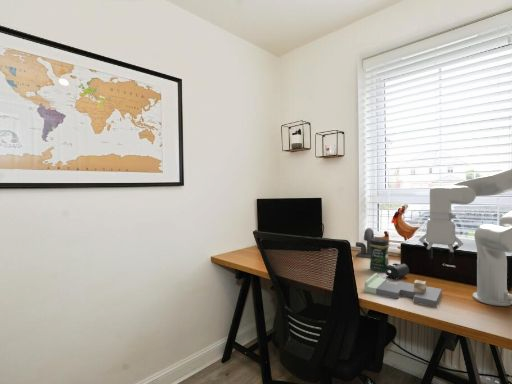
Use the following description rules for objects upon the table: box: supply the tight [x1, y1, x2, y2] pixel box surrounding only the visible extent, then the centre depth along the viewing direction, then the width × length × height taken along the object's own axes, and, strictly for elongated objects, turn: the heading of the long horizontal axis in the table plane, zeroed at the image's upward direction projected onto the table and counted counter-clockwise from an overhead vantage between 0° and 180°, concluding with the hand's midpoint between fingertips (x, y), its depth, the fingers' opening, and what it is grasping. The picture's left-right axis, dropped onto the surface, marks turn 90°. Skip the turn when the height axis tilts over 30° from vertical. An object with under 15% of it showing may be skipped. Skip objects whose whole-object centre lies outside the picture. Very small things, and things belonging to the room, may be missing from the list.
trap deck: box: [364, 272, 443, 308], centre depth 129 cm, size 28×16×4 cm, turn 51°
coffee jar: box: [369, 236, 390, 273], centre depth 162 cm, size 10×8×19 cm
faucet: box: [355, 227, 375, 260], centre depth 188 cm, size 18×16×20 cm
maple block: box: [413, 279, 427, 294], centre depth 124 cm, size 4×4×4 cm
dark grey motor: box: [385, 263, 410, 281], centre depth 150 cm, size 10×7×7 cm
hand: (440, 259), depth 119 cm, fingers open, 6 cm apart
